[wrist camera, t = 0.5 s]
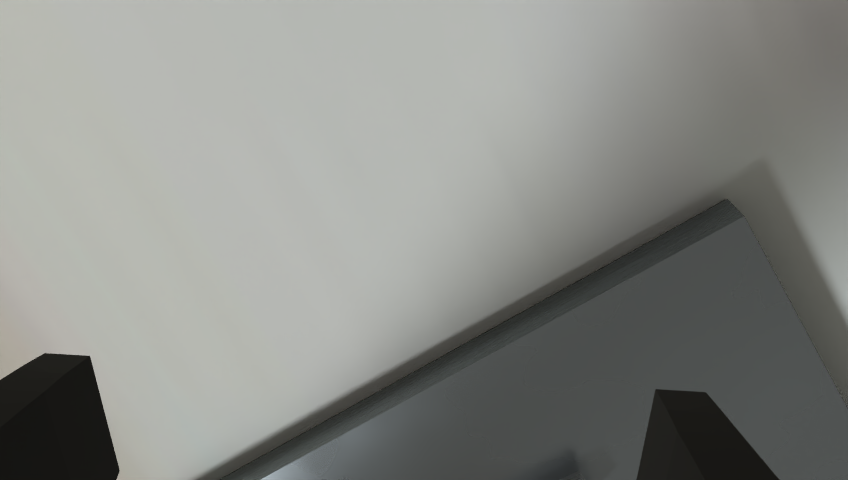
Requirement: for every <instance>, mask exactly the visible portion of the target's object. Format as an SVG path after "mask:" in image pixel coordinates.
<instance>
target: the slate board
mask: <svg viewBox="0 0 848 480" xmlns="http://www.w3.org/2000/svg"><path fill="white" fill-rule="evenodd" d="M655 389H662V390H679V391H696V392H706V393H707V394H708V395H709V396H710V397H711V399H712V400H713V401H714V402H715V403H716V404H717V406H718V407H719V408H720V409H721V410H722V411H723V413H724V414H725V415H726V416H727V417H728V419H729V420H730V421H731V422H732V423H733V425H734V426H735V427H736V428H737V429H738V431H739V432H740V433H741V434H742V435H743V437H744V438H745V439H746V440H747V441H748V443H749V444H750V445H751V446H752V447H753V449H754V450H755V451H756V452H757V453H758V455H759V456H760V457H761V458H762V459H763V461H764V462H765V463H766V464H767V465H768V466H769V468H770V469H771V470H772V471H773V472H774V474H775V475H776V476H777V477H778V478H779V479H780V480H848V408H847V406H846V404H845V403H844V401H843V399H842V397H841V395H840V393H839V391H838V390H837V388H836V386H835V384H834V382H833V380H832V378H831V377H830V375H829V373H828V371H827V369H826V367H825V365H824V364H823V362H822V360H821V358H820V356H819V354H818V352H817V351H816V349H815V347H814V345H813V343H812V341H811V339H810V337H809V336H808V334H807V332H806V330H805V328H804V326H803V324H802V323H801V321H800V319H799V317H798V315H797V313H796V311H795V310H794V308H793V306H792V304H791V302H790V300H789V298H788V297H787V295H786V293H785V291H784V289H783V287H782V285H781V284H780V282H779V280H778V278H777V276H776V274H775V272H774V270H773V269H772V267H771V265H770V263H769V261H768V259H767V257H766V256H765V254H764V252H763V250H762V248H761V246H760V244H759V243H758V241H757V239H756V237H755V235H754V233H753V231H752V230H751V228H750V226H749V224H748V222H747V220H746V218H745V217H744V215H743V214H742V213H741V212H740V211H739V210H738V209H737V208H736V207H735V206H734V205H733V204H732V203H731V202H730V201H729V200H728V199H726V200H724V201H722V202H721V203H719V204H717V205H715V206H713V207H712V208H710V209H708V210H706V211H704V212H702V213H701V214H699V215H697V216H695V217H693V218H692V219H690V220H688V221H686V222H684V223H683V224H681V225H679V226H677V227H675V228H674V229H672V230H670V231H668V232H666V233H665V234H663V235H661V236H659V237H657V238H656V239H654V240H652V241H650V242H648V243H646V244H645V245H643V246H641V247H639V248H637V249H636V250H634V251H632V252H630V253H628V254H627V255H625V256H623V257H621V258H619V259H618V260H616V261H614V262H612V263H610V264H609V265H607V266H605V267H603V268H601V269H599V270H598V271H596V272H594V273H592V274H590V275H589V276H587V277H585V278H583V279H581V280H580V281H578V282H576V283H574V284H572V285H571V286H569V287H567V288H565V289H563V290H562V291H560V292H558V293H556V294H554V295H553V296H551V297H549V298H547V299H545V300H543V301H542V302H540V303H538V304H536V305H534V306H533V307H531V308H529V309H527V310H525V311H524V312H522V313H520V314H518V315H516V316H515V317H513V318H511V319H509V320H507V321H506V322H504V323H502V324H500V325H498V326H496V327H495V328H493V329H491V330H489V331H487V332H486V333H484V334H482V335H480V336H478V337H477V338H475V339H473V340H471V341H469V342H468V343H466V344H464V345H462V346H460V347H459V348H457V349H455V350H453V351H451V352H449V353H448V354H446V355H444V356H442V357H440V358H439V359H437V360H435V361H433V362H431V363H430V364H428V365H426V366H424V367H422V368H421V369H419V370H417V371H415V372H413V373H412V374H410V375H408V376H406V377H404V378H403V379H401V380H399V381H397V382H395V383H393V384H392V385H390V386H388V387H386V388H384V389H383V390H381V391H379V392H377V393H375V394H374V395H372V396H370V397H368V398H366V399H365V400H363V401H361V402H359V403H357V404H356V405H354V406H352V407H350V408H348V409H346V410H345V411H343V412H341V413H339V414H337V415H336V416H334V417H332V418H330V419H328V420H327V421H325V422H323V423H321V424H319V425H318V426H316V427H314V428H312V429H310V430H309V431H307V432H305V433H303V434H301V435H300V436H298V437H296V438H294V439H292V440H290V441H289V442H287V443H285V444H283V445H281V446H280V447H278V448H276V449H274V450H272V451H271V452H269V453H267V454H265V455H263V456H262V457H260V458H258V459H256V460H254V461H253V462H251V463H249V464H247V465H245V466H243V467H242V468H240V469H238V470H236V471H234V472H233V473H231V474H229V475H227V476H225V477H224V478H222V479H220V480H636V479H637V475H638V470H639V465H640V460H641V456H642V451H643V446H644V441H645V436H646V432H647V427H648V422H649V417H650V413H651V408H652V403H653V398H654V393H655Z"/></svg>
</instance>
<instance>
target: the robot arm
mask: <svg viewBox="0 0 848 480" xmlns="http://www.w3.org/2000/svg"><path fill="white" fill-rule="evenodd" d="M119 471H120V470H119V466H118V463H117V459H116V455H115V451H114V447H113V443H112V439H111V436H110V432H109V428H108V424H107V420H106V416H105V412H104V409H103V405H102V401H101V397H100V393H99V389H98V385H97V382H96V378H95V374H94V370H93V366H92V362H91V358H90V356H81V355H64V354H47V353H44V354H43V355H41V356H39V357H37V358H36V359H34V360H32V361H30V362H29V363H27V364H25V365H24V366H22V367H20V368H19V369H17V370H15V371H14V372H12V373H11V374H9V375H7V376H6V377H4V378H3V379H1V380H0V480H116V479H117V476H118V474H119ZM636 480H780V479H779V478H778V477H777V476H776V475H775V474H774V472H773V471H772V470H771V469H770V468H769V466H768V465H767V464H766V463H765V462H764V461H763V459H762V458H761V457H760V456H759V455H758V453H757V452H756V451H755V450H754V449H753V447H752V446H751V445H750V444H749V443H748V441H747V440H746V439H745V438H744V437H743V435H742V434H741V433H740V432H739V431H738V429H737V428H736V427H735V426H734V425H733V423H732V422H731V421H730V420H729V419H728V417H727V416H726V415H725V414H724V413H723V411H722V410H721V409H720V408H719V407H718V406H717V404H716V403H715V402H714V401H713V400H712V399H711V397H710V396H709V395H708V394H707V393H706V392H696V391H679V390H662V389H655V393H654V398H653V403H652V408H651V413H650V417H649V422H648V427H647V432H646V436H645V441H644V446H643V451H642V456H641V460H640V465H639V470H638V475H637V479H636Z"/></svg>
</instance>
